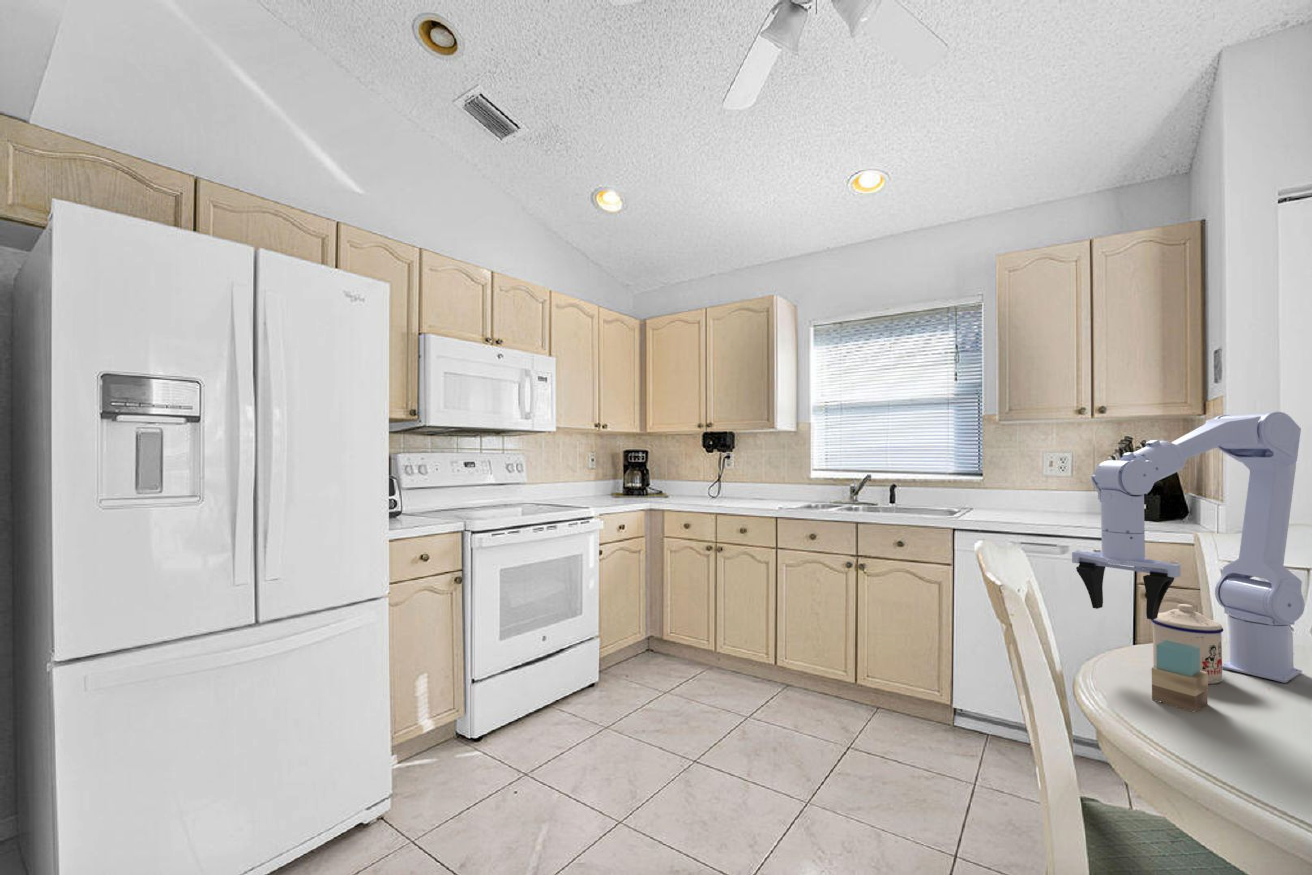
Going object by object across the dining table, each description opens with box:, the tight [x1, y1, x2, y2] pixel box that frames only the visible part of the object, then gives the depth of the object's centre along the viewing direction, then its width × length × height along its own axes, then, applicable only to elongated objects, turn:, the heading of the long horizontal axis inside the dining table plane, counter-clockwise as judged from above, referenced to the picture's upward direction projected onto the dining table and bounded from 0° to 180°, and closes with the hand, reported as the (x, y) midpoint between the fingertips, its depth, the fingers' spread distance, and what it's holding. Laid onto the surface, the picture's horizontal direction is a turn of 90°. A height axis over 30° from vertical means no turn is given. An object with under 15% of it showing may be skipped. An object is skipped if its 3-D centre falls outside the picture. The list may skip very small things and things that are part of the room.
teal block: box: [1156, 640, 1200, 677], centre depth 88 cm, size 4×4×4 cm
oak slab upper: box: [1151, 666, 1209, 696], centre depth 88 cm, size 5×5×2 cm
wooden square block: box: [1151, 684, 1209, 713], centre depth 88 cm, size 5×5×2 cm
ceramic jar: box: [1150, 603, 1224, 685], centre depth 100 cm, size 12×9×12 cm
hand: (1123, 612), depth 99 cm, fingers open, 7 cm apart
